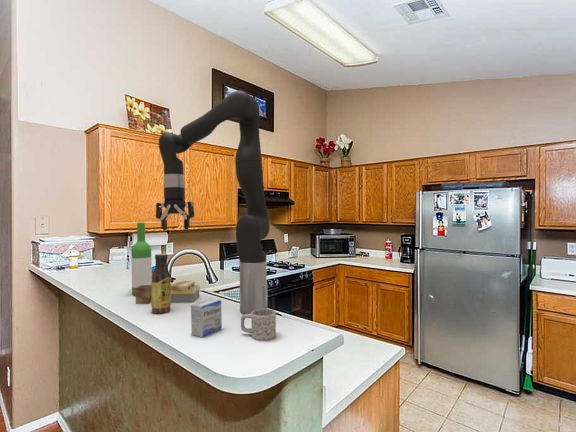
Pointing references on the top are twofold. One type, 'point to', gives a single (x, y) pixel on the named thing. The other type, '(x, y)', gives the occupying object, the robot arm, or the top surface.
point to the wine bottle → (141, 260)
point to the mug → (261, 324)
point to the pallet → (181, 285)
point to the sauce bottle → (161, 285)
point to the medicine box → (206, 317)
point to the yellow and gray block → (186, 294)
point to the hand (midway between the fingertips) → (175, 229)
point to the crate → (143, 294)
